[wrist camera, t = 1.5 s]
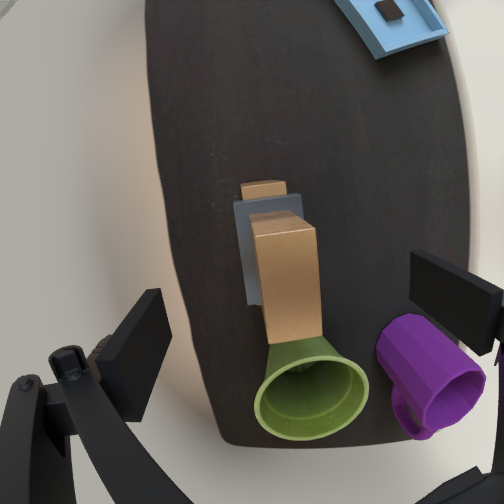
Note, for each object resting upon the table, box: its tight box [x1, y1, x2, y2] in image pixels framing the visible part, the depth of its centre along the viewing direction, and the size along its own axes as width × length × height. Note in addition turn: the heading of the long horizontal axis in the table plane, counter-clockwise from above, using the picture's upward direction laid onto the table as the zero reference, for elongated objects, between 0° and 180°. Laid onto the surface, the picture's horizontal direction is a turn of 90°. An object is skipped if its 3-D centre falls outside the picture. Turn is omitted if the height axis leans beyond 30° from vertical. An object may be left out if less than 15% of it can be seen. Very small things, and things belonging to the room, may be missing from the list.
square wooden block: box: [240, 180, 287, 305], centre depth 30 cm, size 10×4×10 cm, turn 8°
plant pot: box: [254, 336, 369, 440], centre depth 34 cm, size 12×12×11 cm
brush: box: [233, 193, 322, 344], centre depth 21 cm, size 8×5×10 cm, turn 8°
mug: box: [376, 313, 486, 440], centre depth 33 cm, size 9×16×15 cm, turn 1°
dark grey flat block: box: [374, 0, 405, 22], centre depth 28 cm, size 3×3×1 cm
